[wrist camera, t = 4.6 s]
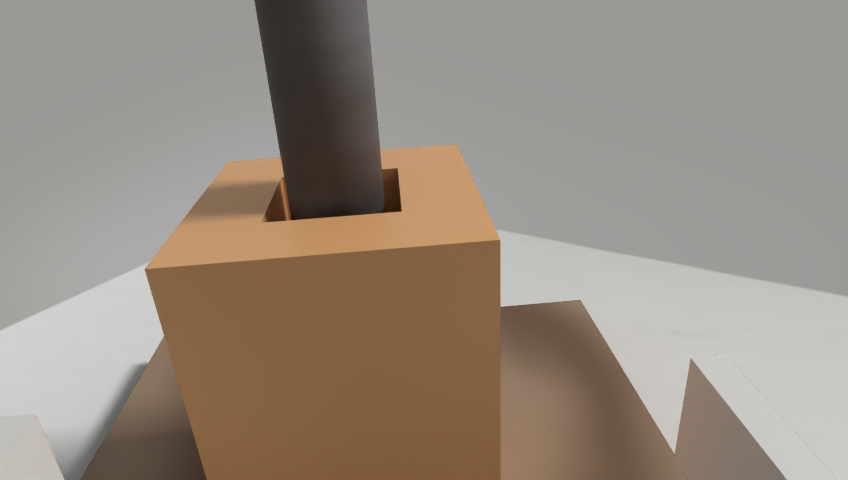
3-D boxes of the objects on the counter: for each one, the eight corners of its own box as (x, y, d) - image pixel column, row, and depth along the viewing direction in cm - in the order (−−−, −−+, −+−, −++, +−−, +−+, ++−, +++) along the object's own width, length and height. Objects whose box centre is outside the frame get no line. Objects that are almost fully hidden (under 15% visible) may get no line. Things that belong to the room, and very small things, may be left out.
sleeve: (241, 598, 16) (144, 268, 11) (281, 416, 22) (227, 161, 18) (501, 571, 16) (500, 240, 12) (465, 399, 22) (457, 144, 18)
